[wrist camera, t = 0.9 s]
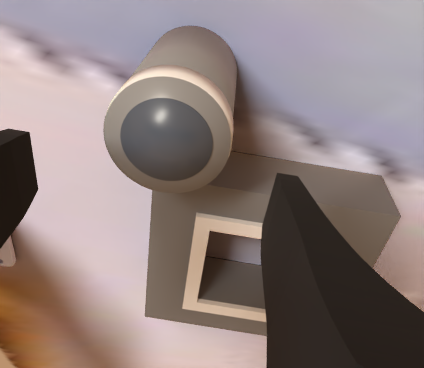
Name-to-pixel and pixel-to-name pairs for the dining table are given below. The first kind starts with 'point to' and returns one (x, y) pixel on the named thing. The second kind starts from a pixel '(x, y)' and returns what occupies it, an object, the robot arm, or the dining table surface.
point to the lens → (175, 113)
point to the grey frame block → (249, 227)
